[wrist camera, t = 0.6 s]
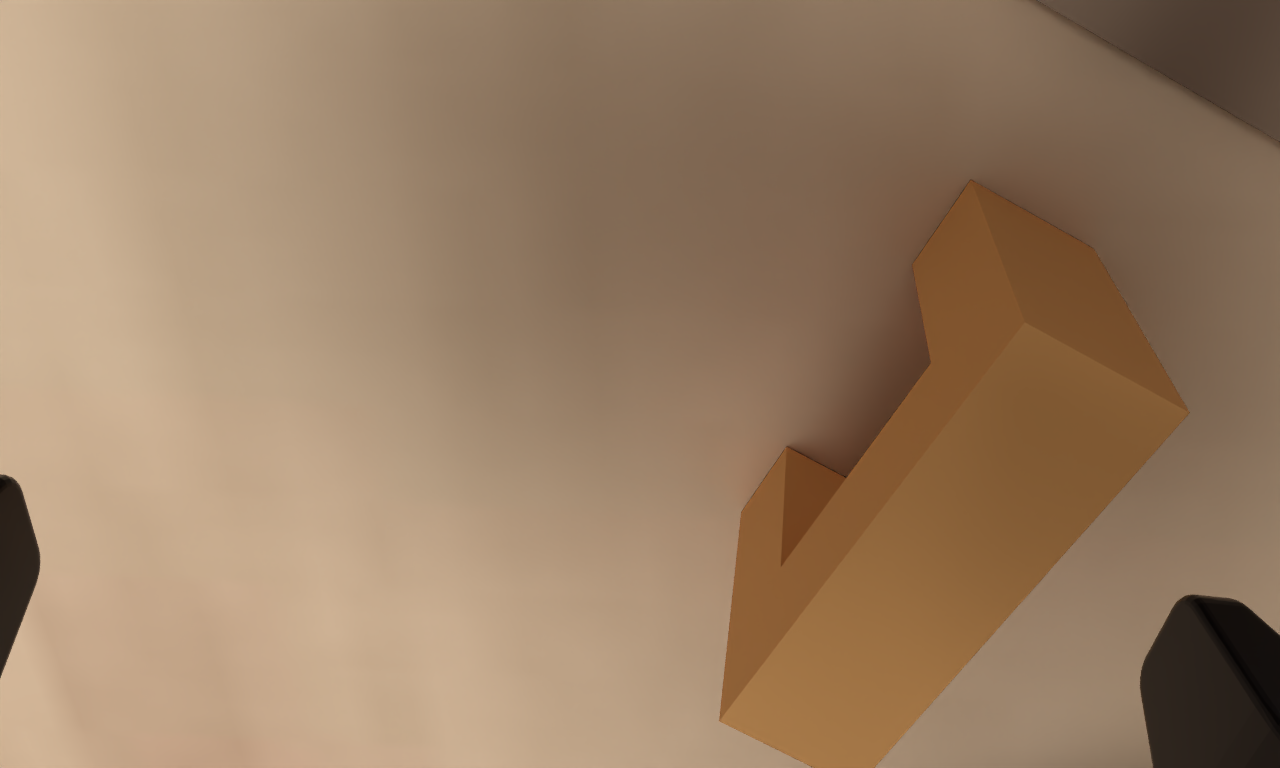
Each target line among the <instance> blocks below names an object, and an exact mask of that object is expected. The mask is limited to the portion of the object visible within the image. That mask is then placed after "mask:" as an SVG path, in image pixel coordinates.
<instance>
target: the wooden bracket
mask: <svg viewBox="0 0 1280 768" xmlns="http://www.w3.org/2000/svg"><path fill="white" fill-rule="evenodd" d="M912 267H913V272H914V277H915V282H916V288H917V293H918V298H919V303H920V308H921V314H922V319H923V324H924V329H925V334H926V340H927V345H928V350H929V355H930V361H931V363H930V365H929V366H928V368H927V369H926V370H925V372H924V373H923V374H922V376H921V377H920V378H919V380H918V381H917V383H916V384H915V385H914V387H913V388H912V389H911V391H910V392H909V393H908V395H907V396H906V398H905V399H904V400H903V402H902V403H901V404H900V406H899V407H898V408H897V410H896V411H895V412H894V414H893V415H892V417H891V418H890V419H889V421H888V422H887V423H886V425H885V426H884V427H883V429H882V430H881V432H880V433H879V434H878V436H877V437H876V438H875V440H874V441H873V442H872V444H871V445H870V447H869V448H868V449H867V451H866V452H865V453H864V455H863V456H862V457H861V459H860V460H859V462H858V463H857V464H856V466H855V467H854V468H853V470H852V471H851V472H850V474H849V475H848V476H847V478H845V477H843V476H841V475H840V474H838V473H836V472H834V471H832V470H830V469H828V468H826V467H824V466H822V465H820V464H818V463H817V462H815V461H813V460H811V459H809V458H807V457H805V456H803V455H801V454H799V453H797V452H796V451H794V450H792V449H790V448H788V447H786V448H785V450H784V451H783V453H782V454H781V456H780V457H779V458H778V460H777V461H776V463H775V464H774V466H773V467H772V469H771V470H770V471H769V473H768V474H767V476H766V477H765V479H764V480H763V482H762V483H761V485H760V486H759V487H758V489H757V490H756V492H755V493H754V495H753V496H752V498H751V499H750V500H749V502H748V503H747V505H746V506H745V508H744V509H743V511H742V512H741V520H740V530H739V539H738V548H737V558H736V567H735V577H734V586H733V596H732V605H731V614H730V624H729V633H728V643H727V652H726V662H725V671H724V680H723V690H722V699H721V709H720V718H719V721H720V722H722V723H724V724H726V725H728V726H730V727H732V728H734V729H736V730H738V731H740V732H742V733H744V734H746V735H748V736H750V737H752V738H754V739H756V740H758V741H761V742H763V743H765V744H767V745H769V746H771V747H773V748H775V749H777V750H779V751H781V752H783V753H785V754H787V755H789V756H791V757H793V758H795V759H797V760H799V761H801V762H803V763H805V764H807V765H809V766H811V767H813V768H874V767H875V766H876V765H877V764H878V763H879V762H880V761H881V760H882V758H883V757H884V756H885V755H886V754H887V753H888V752H889V751H890V749H891V748H892V747H893V746H894V745H895V744H896V743H897V742H898V740H899V739H900V738H901V737H902V736H903V735H904V734H905V733H906V731H907V730H908V729H909V728H910V727H911V726H912V725H913V724H914V722H915V721H916V720H917V719H918V718H919V717H920V716H921V715H922V713H923V712H924V711H925V710H926V709H927V708H928V707H929V706H930V704H931V703H932V702H933V701H934V700H935V699H936V698H937V697H938V695H939V694H940V693H941V692H942V691H943V690H944V689H945V688H946V686H947V685H948V684H949V683H950V682H951V681H952V680H953V679H954V677H955V676H956V675H957V674H958V673H959V672H960V671H961V670H962V668H963V667H964V666H965V665H966V664H967V663H968V662H969V661H970V659H971V658H972V657H973V656H974V655H975V654H976V653H977V652H978V650H979V649H980V648H981V647H982V646H983V645H984V644H985V643H986V641H987V640H988V639H989V638H990V637H991V636H992V635H993V634H994V632H995V631H996V630H997V629H998V628H999V627H1000V626H1001V625H1002V623H1003V622H1004V621H1005V620H1006V619H1007V618H1008V617H1009V616H1010V614H1011V613H1012V612H1013V611H1014V610H1015V609H1016V608H1017V607H1018V605H1019V604H1020V603H1021V602H1022V601H1023V600H1024V599H1025V598H1026V596H1027V595H1028V594H1029V593H1030V592H1031V591H1032V590H1033V589H1034V587H1035V586H1036V585H1037V584H1038V583H1039V582H1040V581H1041V580H1042V578H1043V577H1044V576H1045V575H1046V574H1047V573H1048V572H1049V571H1050V569H1051V568H1052V567H1053V566H1054V565H1055V564H1056V563H1057V562H1058V560H1059V559H1060V558H1061V557H1062V556H1063V555H1064V554H1065V553H1066V551H1067V550H1068V549H1069V548H1070V547H1071V546H1072V545H1073V543H1074V542H1075V541H1076V540H1077V539H1078V538H1079V537H1080V536H1081V534H1082V533H1083V532H1084V531H1085V530H1086V529H1087V528H1088V527H1089V525H1090V524H1091V523H1092V522H1093V521H1094V520H1095V519H1096V518H1097V516H1098V515H1099V514H1100V513H1101V512H1102V511H1103V510H1104V509H1105V507H1106V506H1107V505H1108V504H1109V503H1110V502H1111V501H1112V500H1113V498H1114V497H1115V496H1116V495H1117V494H1118V493H1119V492H1120V491H1121V489H1122V488H1123V487H1124V486H1125V485H1126V484H1127V483H1128V482H1129V480H1130V479H1131V478H1132V477H1133V476H1134V475H1135V474H1136V473H1137V471H1138V470H1139V469H1140V468H1141V467H1142V466H1143V465H1144V464H1145V462H1146V461H1147V460H1148V459H1149V458H1150V457H1151V456H1152V455H1153V453H1154V452H1155V451H1156V450H1157V449H1158V448H1159V447H1160V446H1161V444H1162V443H1163V442H1164V441H1165V440H1166V439H1167V438H1168V437H1169V435H1170V434H1171V433H1172V432H1173V431H1174V430H1175V429H1176V428H1177V426H1178V425H1179V424H1180V423H1181V422H1182V421H1183V420H1184V419H1185V417H1186V416H1187V415H1188V414H1189V413H1190V412H1189V411H1188V409H1187V407H1186V406H1185V404H1184V402H1183V400H1182V399H1181V397H1180V395H1179V394H1178V392H1177V390H1176V389H1175V387H1174V385H1173V383H1172V382H1171V380H1170V378H1169V377H1168V375H1167V373H1166V371H1165V370H1164V368H1163V366H1162V365H1161V363H1160V361H1159V359H1158V358H1157V356H1156V354H1155V353H1154V351H1153V349H1152V348H1151V346H1150V344H1149V342H1148V341H1147V339H1146V337H1145V336H1144V334H1143V332H1142V330H1141V329H1140V327H1139V325H1138V324H1137V322H1136V320H1135V318H1134V317H1133V315H1132V313H1131V312H1130V310H1129V308H1128V307H1127V305H1126V303H1125V301H1124V300H1123V298H1122V296H1121V295H1120V293H1119V291H1118V289H1117V288H1116V286H1115V284H1114V283H1113V281H1112V279H1111V277H1110V276H1109V274H1108V272H1107V271H1106V269H1105V267H1104V266H1103V264H1102V262H1101V260H1100V259H1099V257H1098V255H1097V254H1096V252H1095V250H1094V249H1093V248H1092V247H1090V246H1088V245H1086V244H1084V243H1083V242H1081V241H1079V240H1077V239H1076V238H1074V237H1072V236H1070V235H1068V234H1067V233H1065V232H1063V231H1061V230H1059V229H1058V228H1056V227H1054V226H1052V225H1051V224H1049V223H1047V222H1045V221H1043V220H1042V219H1040V218H1038V217H1036V216H1035V215H1033V214H1031V213H1029V212H1027V211H1026V210H1024V209H1022V208H1020V207H1018V206H1017V205H1015V204H1013V203H1011V202H1010V201H1008V200H1006V199H1004V198H1002V197H1001V196H999V195H997V194H995V193H993V192H992V191H990V190H988V189H986V188H985V187H983V186H981V185H979V184H977V183H976V182H974V181H972V180H970V182H969V183H968V185H967V186H966V187H965V189H964V190H963V192H962V193H961V195H960V196H959V198H958V199H957V201H956V202H955V203H954V205H953V206H952V208H951V209H950V211H949V212H948V214H947V215H946V216H945V218H944V219H943V221H942V222H941V224H940V225H939V227H938V228H937V230H936V231H935V232H934V234H933V235H932V237H931V238H930V240H929V241H928V243H927V244H926V245H925V247H924V248H923V250H922V251H921V253H920V254H919V256H918V257H917V258H916V260H915V261H914V263H913V264H912Z"/></svg>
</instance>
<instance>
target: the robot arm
mask: <svg viewBox="0 0 1280 768" xmlns="http://www.w3.org/2000/svg"><path fill="white" fill-rule="evenodd" d="M39 570H40V552H39V547H38V544H37V540H36V537H35V533H34V530H33V526H32V523H31V520H30V516H29V513H28V509H27V506H26V502H25V499H24V495H23V492H22V490H21V487H20V485H19V484H18V483H17V481H16V480H15V479H13V478H12V477H9V476H7V475H1V474H0V678H1V675H2V672H3V670H4V667H5V664H6V662H7V659H8V657H9V654H10V651H11V649H12V646H13V643H14V641H15V638H16V636H17V633H18V630H19V628H20V625H21V622H22V620H23V617H24V615H25V612H26V609H27V607H28V604H29V601H30V599H31V596H32V594H33V591H34V588H35V586H36V583H37V580H38V575H39ZM1140 689H1141V697H1142V703H1143V709H1144V715H1145V721H1146V727H1147V733H1148V739H1149V745H1150V751H1151V757H1152V763H1153V768H1280V635H1279V634H1278V633H1276V632H1275V631H1274V630H1273V629H1272V628H1271V627H1270V626H1269V625H1267V624H1266V623H1265V622H1264V621H1263V620H1262V619H1261V618H1259V617H1258V616H1257V615H1256V614H1255V613H1254V612H1253V611H1252V610H1250V609H1249V608H1248V607H1247V606H1245V605H1244V604H1243V603H1241V602H1239V601H1237V600H1234V599H1230V598H1221V597H1211V596H1202V595H1187V596H1184V597H1183V598H1181V599H1180V600H1178V601H1177V602H1176V604H1175V605H1174V607H1173V608H1172V610H1171V612H1170V614H1169V616H1168V618H1167V619H1166V621H1165V623H1164V625H1163V627H1162V629H1161V630H1160V632H1159V634H1158V636H1157V638H1156V639H1155V641H1154V643H1153V645H1152V647H1151V649H1150V650H1149V652H1148V654H1147V656H1146V658H1145V660H1144V663H1143V666H1142V670H1141V677H1140Z"/></svg>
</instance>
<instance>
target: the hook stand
mask: <svg viewBox="0 0 1280 768" xmlns="http://www.w3.org/2000/svg"><path fill="white" fill-rule="evenodd" d="M1037 1H1038V2H1040V3H1042V4H1044V5H1045V6H1047V7H1049V8H1050V9H1052V10H1054V11H1056V12H1057V13H1059V14H1061V15H1062V16H1064V17H1066V18H1068V19H1069V20H1071V21H1073V22H1074V23H1076V24H1078V25H1080V26H1081V27H1083V28H1085V29H1087V30H1088V31H1090V32H1092V33H1093V34H1095V35H1097V36H1099V37H1100V38H1102V39H1104V40H1105V41H1107V42H1109V43H1111V44H1112V45H1114V46H1116V47H1117V48H1119V49H1121V50H1123V51H1124V52H1126V53H1128V54H1129V55H1131V56H1133V57H1135V58H1136V59H1138V60H1140V61H1141V62H1143V63H1145V64H1147V65H1148V66H1150V67H1152V68H1153V69H1155V70H1157V71H1159V72H1160V73H1162V74H1164V75H1165V76H1167V77H1169V78H1171V79H1172V80H1174V81H1176V82H1177V83H1179V84H1181V85H1183V86H1184V87H1186V88H1188V89H1189V90H1191V91H1193V92H1195V93H1196V94H1198V95H1200V96H1201V97H1203V98H1205V99H1207V100H1208V101H1210V102H1212V103H1213V104H1215V105H1217V106H1219V107H1220V108H1222V109H1224V110H1225V111H1227V112H1229V113H1231V114H1232V115H1234V116H1236V117H1237V118H1239V119H1241V120H1243V121H1244V122H1246V123H1248V124H1250V125H1251V126H1253V127H1255V128H1256V129H1258V130H1260V131H1262V132H1263V133H1265V134H1267V135H1268V136H1270V137H1272V138H1274V139H1275V140H1277V141H1279V142H1280V0H1037Z"/></svg>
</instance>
